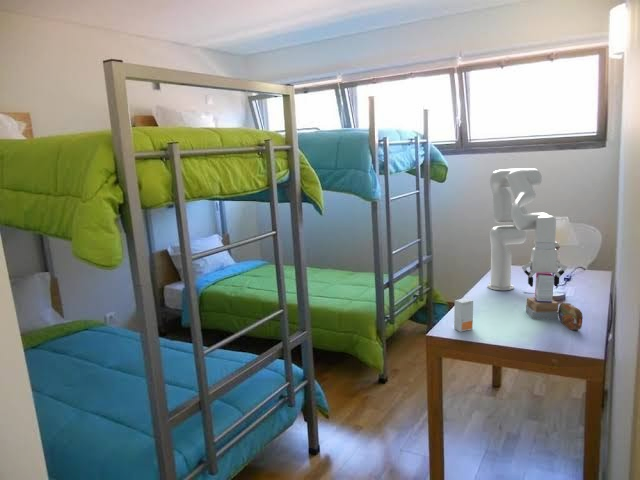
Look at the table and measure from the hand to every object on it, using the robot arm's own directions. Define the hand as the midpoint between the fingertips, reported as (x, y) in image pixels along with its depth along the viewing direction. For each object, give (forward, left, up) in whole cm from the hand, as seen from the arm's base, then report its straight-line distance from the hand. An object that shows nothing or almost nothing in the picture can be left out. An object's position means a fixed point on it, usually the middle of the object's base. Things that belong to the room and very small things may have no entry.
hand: (543, 285), depth 201 cm
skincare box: (+18, -34, -13) cm, 41 cm away
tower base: (0, 0, -14) cm, 14 cm away
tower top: (-1, 0, -10) cm, 10 cm away
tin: (+12, +7, -13) cm, 19 cm away
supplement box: (0, 0, -7) cm, 7 cm away
